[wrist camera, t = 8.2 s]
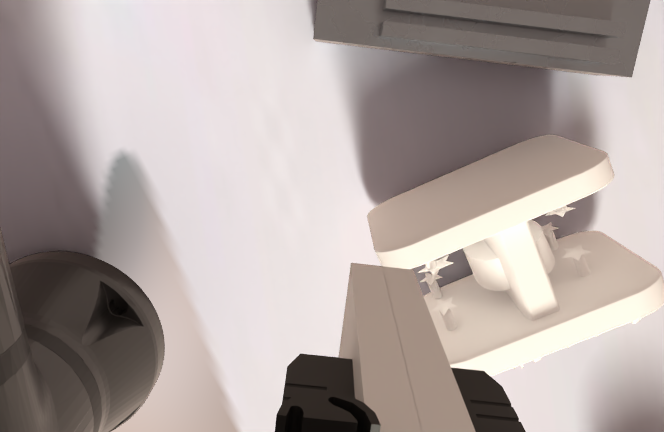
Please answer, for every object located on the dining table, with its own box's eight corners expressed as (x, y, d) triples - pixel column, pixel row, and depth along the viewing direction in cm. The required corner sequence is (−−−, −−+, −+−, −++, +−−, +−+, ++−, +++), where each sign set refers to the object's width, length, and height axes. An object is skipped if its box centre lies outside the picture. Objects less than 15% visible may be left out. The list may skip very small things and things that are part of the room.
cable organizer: (553, 122, 42) (634, 145, 31) (597, 249, 45) (687, 312, 33) (363, 204, 44) (374, 255, 33) (416, 322, 46) (443, 407, 35)
